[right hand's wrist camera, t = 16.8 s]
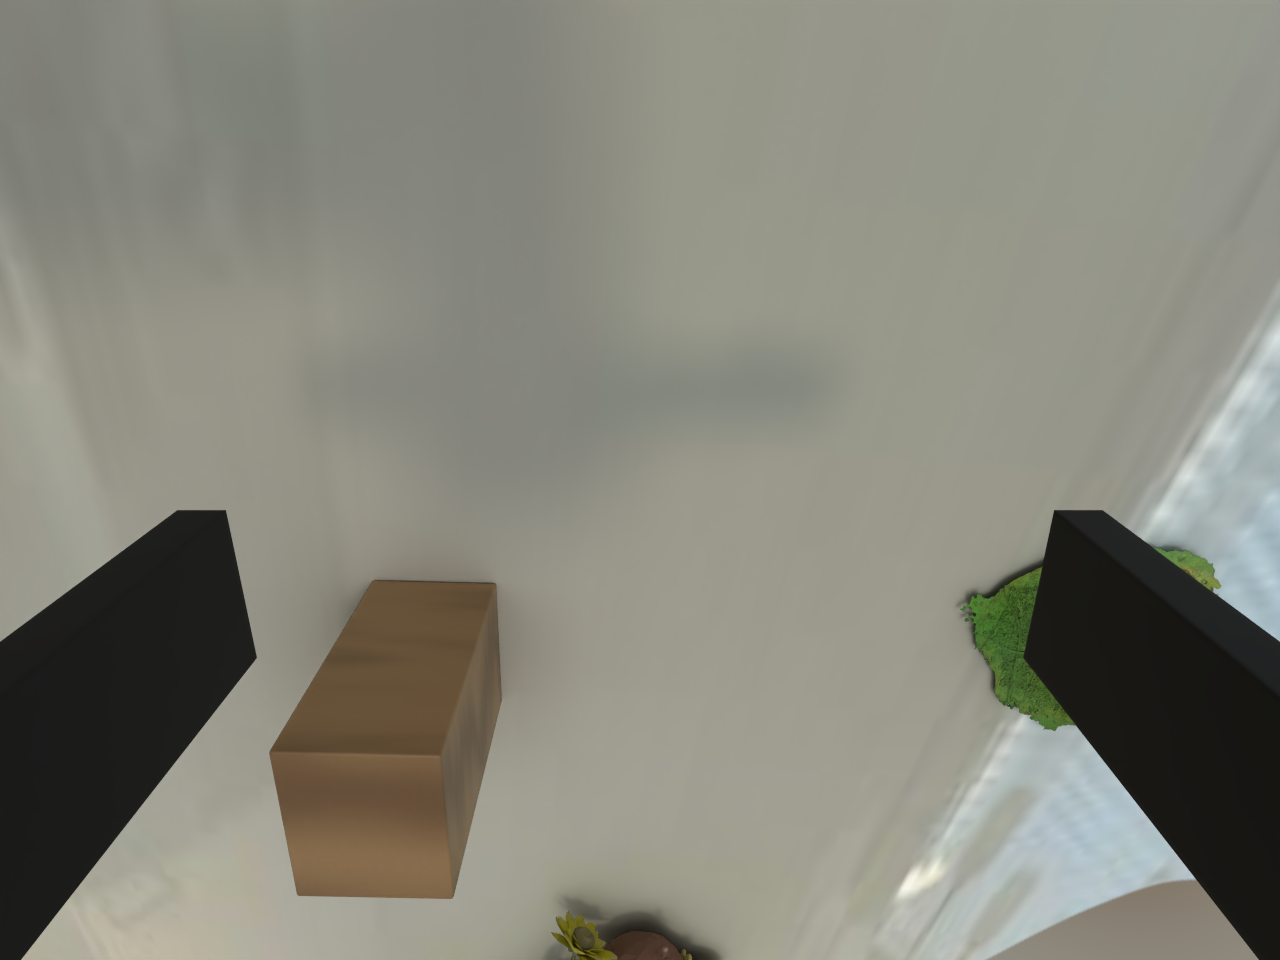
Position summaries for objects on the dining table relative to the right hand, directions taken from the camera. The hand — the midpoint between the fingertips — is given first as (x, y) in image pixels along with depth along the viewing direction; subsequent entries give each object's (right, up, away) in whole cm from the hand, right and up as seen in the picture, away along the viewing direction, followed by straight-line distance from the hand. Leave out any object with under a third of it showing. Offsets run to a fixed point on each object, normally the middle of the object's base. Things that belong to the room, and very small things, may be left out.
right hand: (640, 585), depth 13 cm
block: (-10, -6, +26) cm, 28 cm away
